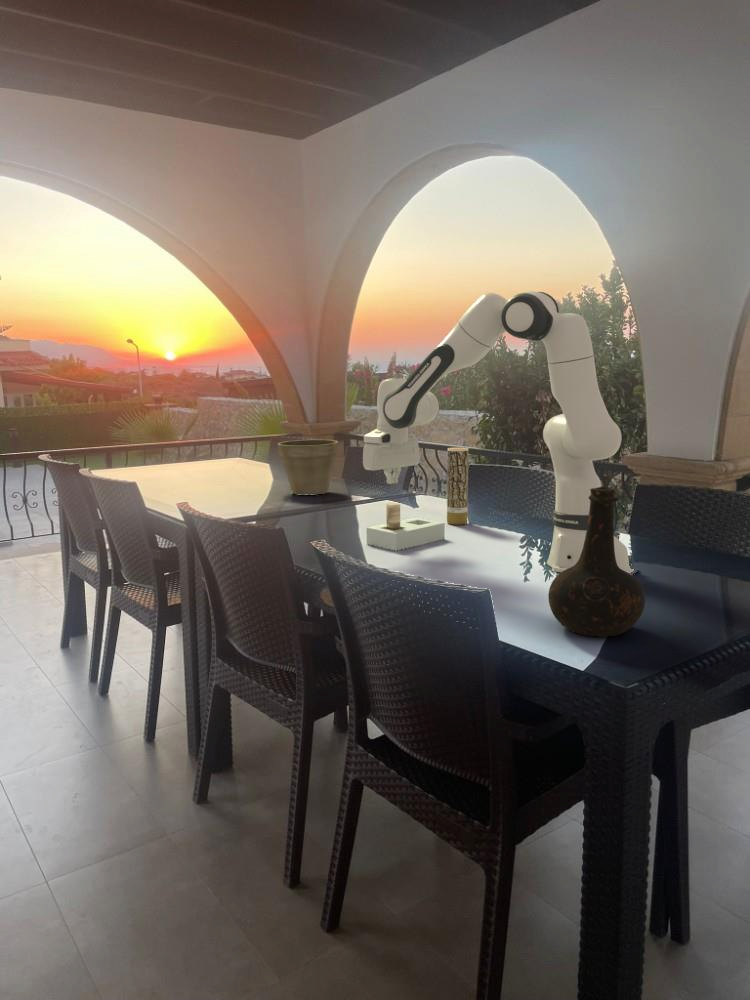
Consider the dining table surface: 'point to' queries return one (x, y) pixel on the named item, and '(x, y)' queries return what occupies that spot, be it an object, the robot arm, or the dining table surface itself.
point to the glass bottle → (597, 580)
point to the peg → (393, 516)
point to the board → (406, 534)
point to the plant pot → (308, 464)
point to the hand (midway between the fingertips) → (392, 483)
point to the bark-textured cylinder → (457, 486)
